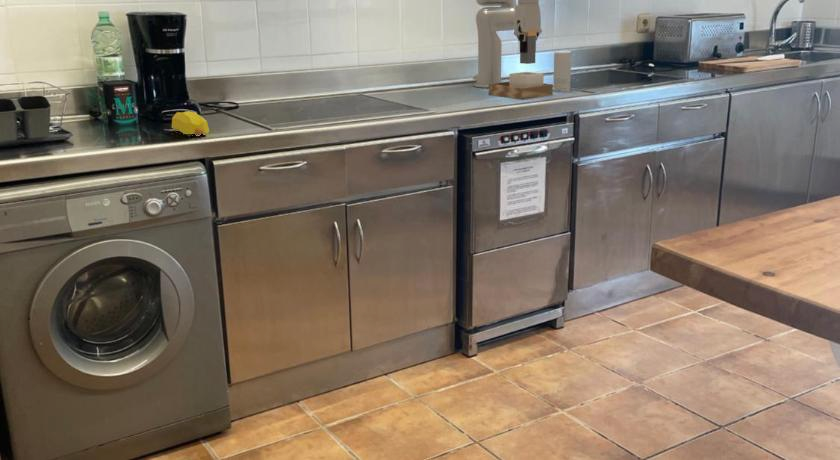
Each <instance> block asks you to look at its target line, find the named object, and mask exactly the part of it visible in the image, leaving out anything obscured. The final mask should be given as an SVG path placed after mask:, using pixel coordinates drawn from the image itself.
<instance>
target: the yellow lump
mask: <svg viewBox="0 0 840 460" xmlns="http://www.w3.org/2000/svg"><path fill="white" fill-rule="evenodd" d="M172 128H173V129H175V130H178V131H180V132H182V133H183V134H182V135H184V134H196V135H200V134H203V133H207V134H208V133H209V132H210V128H209V125H208V121H207V120H206V119H205V118H204V117H203V116H201V115H199V114H198V113H196V112H194V111H189V110H187V111H184V112H183V111H181V112H179V111H177V112H176V113H175V114H174V115H173V116H172V119H171V129H172ZM173 129H172V130H173ZM175 130H174V131H175Z"/></svg>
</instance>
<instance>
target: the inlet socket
mask: <svg viewBox="0 0 840 460" xmlns="http://www.w3.org/2000/svg"><path fill="white" fill-rule="evenodd" d="M544 77H545V76H544V73H541V72H533V71H532V72H531V71H522V72H514V73H509V77H508V78H509V86H511V87H519V88H527V87H534V86H541V85H543V83H544Z"/></svg>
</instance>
